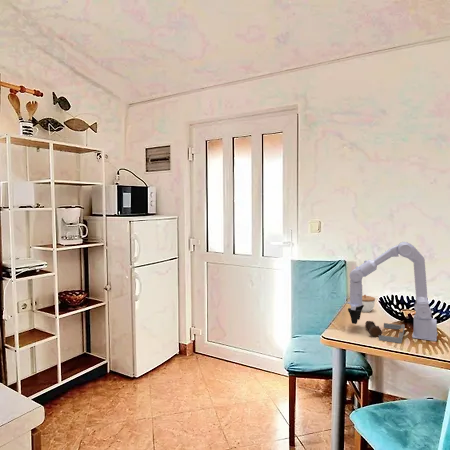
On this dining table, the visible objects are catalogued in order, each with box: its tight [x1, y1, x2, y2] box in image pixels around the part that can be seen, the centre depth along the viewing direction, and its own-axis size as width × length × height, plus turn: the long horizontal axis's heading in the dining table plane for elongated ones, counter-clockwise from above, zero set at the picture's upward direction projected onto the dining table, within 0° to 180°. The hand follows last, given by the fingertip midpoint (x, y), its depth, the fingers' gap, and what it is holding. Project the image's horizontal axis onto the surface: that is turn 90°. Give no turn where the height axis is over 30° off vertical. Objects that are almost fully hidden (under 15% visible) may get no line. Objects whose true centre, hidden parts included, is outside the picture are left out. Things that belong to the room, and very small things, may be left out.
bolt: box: [364, 320, 383, 338], centre depth 172 cm, size 6×5×15 cm
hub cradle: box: [378, 322, 405, 344], centre depth 168 cm, size 9×21×3 cm, turn 150°
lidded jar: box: [361, 294, 376, 313], centre depth 209 cm, size 11×11×9 cm
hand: (355, 321), depth 176 cm, fingers open, 7 cm apart
